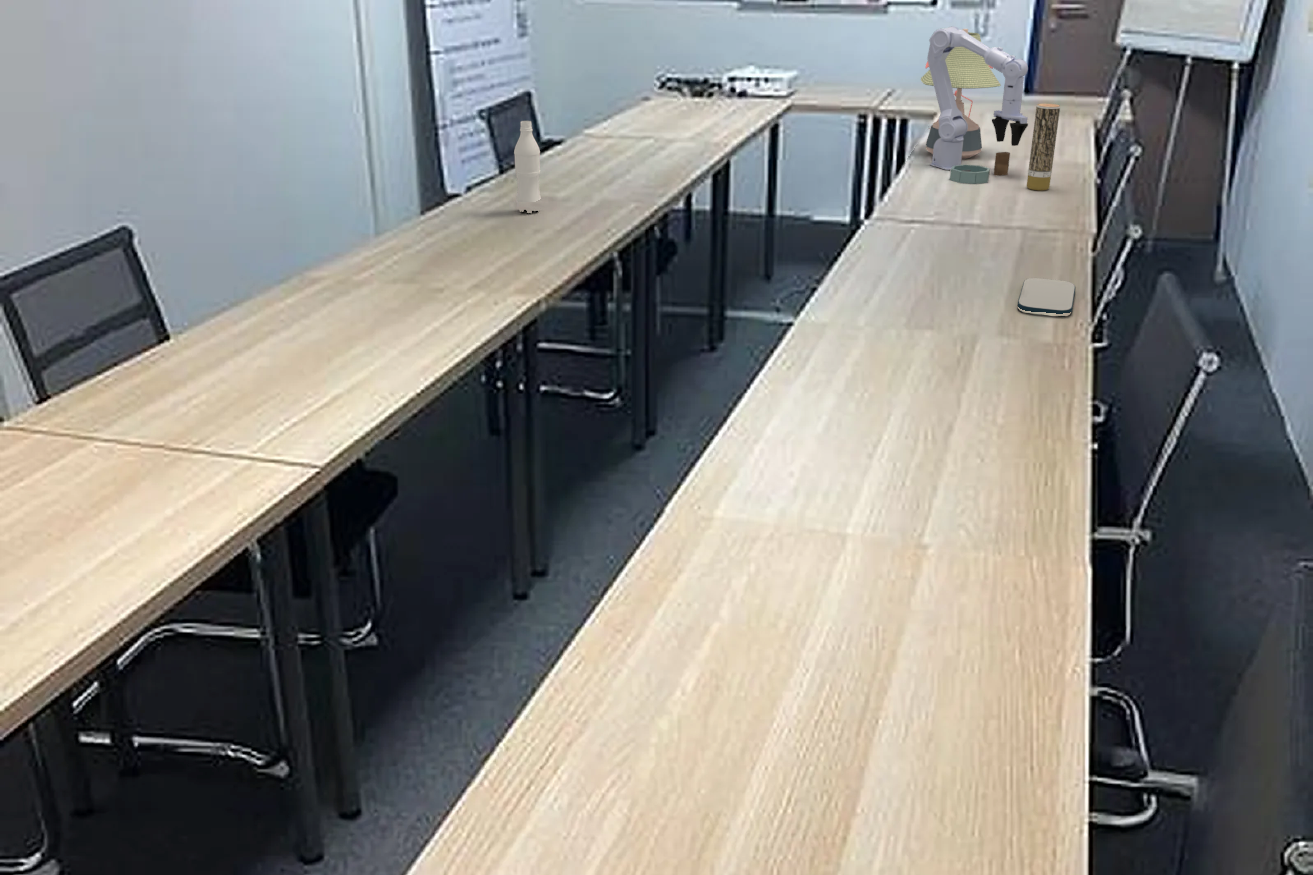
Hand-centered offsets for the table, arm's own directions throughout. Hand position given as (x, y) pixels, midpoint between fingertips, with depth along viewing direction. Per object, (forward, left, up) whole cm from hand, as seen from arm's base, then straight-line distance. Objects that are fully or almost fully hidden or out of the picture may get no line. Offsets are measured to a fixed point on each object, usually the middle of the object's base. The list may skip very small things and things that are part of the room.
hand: (1007, 143), depth 395 cm
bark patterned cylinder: (+20, -4, -10) cm, 23 cm away
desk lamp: (-33, +5, -10) cm, 34 cm away
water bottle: (-16, -156, -10) cm, 157 cm away
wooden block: (-1, -1, -10) cm, 10 cm away
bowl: (+1, -15, -10) cm, 18 cm away
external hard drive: (+110, -79, -11) cm, 135 cm away
